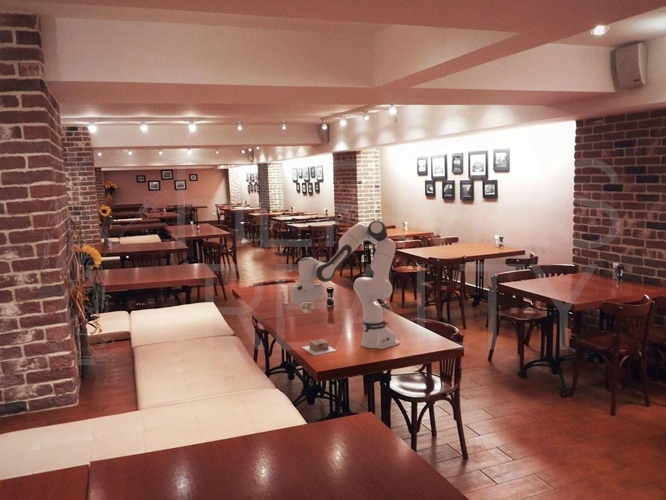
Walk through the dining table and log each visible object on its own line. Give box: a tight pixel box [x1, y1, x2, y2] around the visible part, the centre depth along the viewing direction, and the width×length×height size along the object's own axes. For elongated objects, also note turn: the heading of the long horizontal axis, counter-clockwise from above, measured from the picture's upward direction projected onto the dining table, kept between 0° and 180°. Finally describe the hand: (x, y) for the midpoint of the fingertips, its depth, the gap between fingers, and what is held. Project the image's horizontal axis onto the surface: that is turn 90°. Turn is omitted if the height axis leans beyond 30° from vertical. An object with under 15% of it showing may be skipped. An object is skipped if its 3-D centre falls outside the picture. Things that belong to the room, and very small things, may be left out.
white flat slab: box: [301, 345, 338, 357], centre depth 298 cm, size 14×16×1 cm
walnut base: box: [308, 338, 329, 352], centre depth 298 cm, size 8×8×4 cm
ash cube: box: [301, 301, 315, 314], centre depth 308 cm, size 5×5×5 cm
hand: (307, 308), depth 308 cm, fingers closed on ash cube, 5 cm apart
